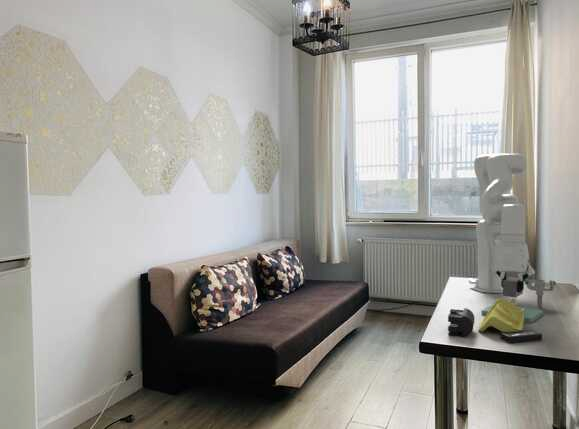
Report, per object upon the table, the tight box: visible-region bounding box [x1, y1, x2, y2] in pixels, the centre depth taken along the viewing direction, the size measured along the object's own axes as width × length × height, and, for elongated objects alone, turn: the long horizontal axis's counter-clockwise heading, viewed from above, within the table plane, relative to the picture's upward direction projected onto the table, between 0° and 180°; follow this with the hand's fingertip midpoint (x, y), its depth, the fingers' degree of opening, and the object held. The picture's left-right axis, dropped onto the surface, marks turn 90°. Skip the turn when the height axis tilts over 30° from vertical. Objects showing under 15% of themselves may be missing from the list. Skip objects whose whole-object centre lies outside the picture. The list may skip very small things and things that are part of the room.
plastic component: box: [478, 298, 525, 333], centre depth 140 cm, size 20×7×10 cm
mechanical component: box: [524, 278, 557, 308], centre depth 166 cm, size 3×10×10 cm, turn 78°
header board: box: [480, 298, 544, 324], centre depth 155 cm, size 16×14×5 cm
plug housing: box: [502, 276, 524, 299], centre depth 155 cm, size 4×8×6 cm, turn 136°
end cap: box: [447, 307, 475, 338], centre depth 135 cm, size 10×7×7 cm
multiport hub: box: [500, 329, 543, 345], centre depth 128 cm, size 4×11×2 cm, turn 103°
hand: (512, 290), depth 154 cm, fingers closed on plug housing, 4 cm apart
